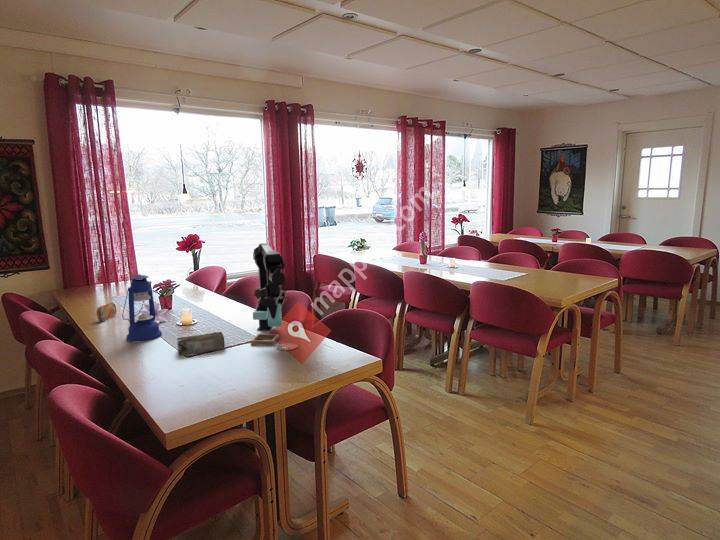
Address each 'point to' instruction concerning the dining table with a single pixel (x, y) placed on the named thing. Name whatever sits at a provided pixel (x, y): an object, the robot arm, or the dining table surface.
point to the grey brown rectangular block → (200, 343)
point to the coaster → (283, 347)
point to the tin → (106, 311)
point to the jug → (269, 317)
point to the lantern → (145, 323)
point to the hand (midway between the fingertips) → (275, 316)
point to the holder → (264, 336)
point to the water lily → (158, 312)
